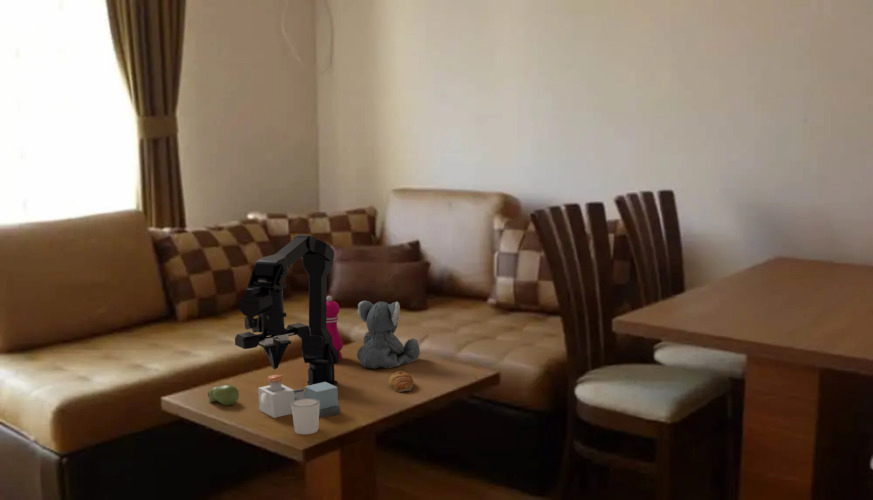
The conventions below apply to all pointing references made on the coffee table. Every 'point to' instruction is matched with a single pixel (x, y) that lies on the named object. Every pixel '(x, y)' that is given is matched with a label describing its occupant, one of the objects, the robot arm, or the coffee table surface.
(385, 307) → the koala plush
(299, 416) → the shot glass
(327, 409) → the rail
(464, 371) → the coffee table surface
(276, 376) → the button
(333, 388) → the block
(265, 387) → the cabinet
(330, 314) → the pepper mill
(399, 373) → the pastry
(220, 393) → the green eggplant
